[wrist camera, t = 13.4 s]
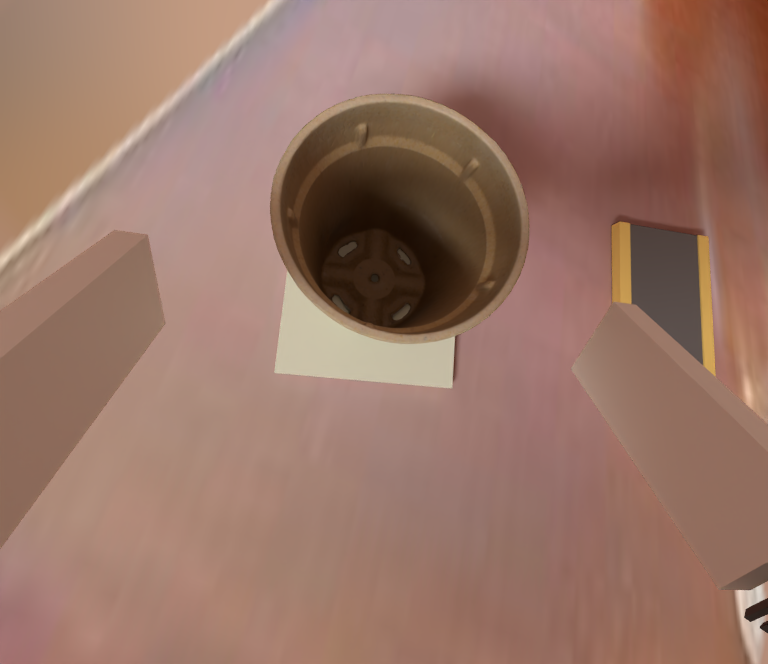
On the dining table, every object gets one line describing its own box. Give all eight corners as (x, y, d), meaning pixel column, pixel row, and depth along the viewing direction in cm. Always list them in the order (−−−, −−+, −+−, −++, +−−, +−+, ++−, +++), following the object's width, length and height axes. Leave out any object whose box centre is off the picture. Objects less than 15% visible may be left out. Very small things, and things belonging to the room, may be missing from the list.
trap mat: (698, 240, 27) (708, 236, 26) (706, 410, 25) (717, 411, 24) (611, 225, 26) (619, 221, 25) (613, 402, 24) (621, 403, 23)
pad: (459, 199, 24) (462, 195, 23) (448, 388, 22) (452, 388, 22) (301, 173, 22) (300, 167, 22) (275, 373, 21) (274, 372, 20)
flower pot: (337, 175, 22) (347, 45, 14) (474, 249, 23) (564, 170, 15) (259, 313, 20) (215, 261, 12) (412, 388, 21) (473, 390, 13)
